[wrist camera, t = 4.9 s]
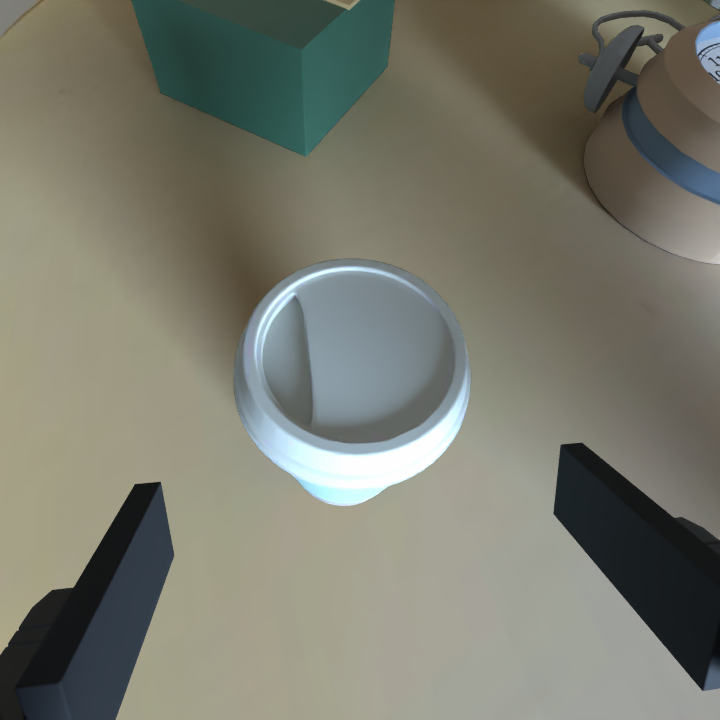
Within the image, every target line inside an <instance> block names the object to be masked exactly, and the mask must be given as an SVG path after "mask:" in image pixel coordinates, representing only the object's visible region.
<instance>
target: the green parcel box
mask: <svg viewBox="0 0 720 720" xmlns="http://www.w3.org/2000/svg"><path fill="white" fill-rule="evenodd" d="M131 1H132V4H133V7H134V10H135V13H136V17H137V20H138V23H139V26H140V29H141V32H142V35H143V39H144V42H145V45H146V48H147V51H148V54H149V58H150V61H151V64H152V67H153V70H154V73H155V76H156V80H157V83H158V86H159V89H160V92H161V93H162V94H164V95H167V96H169V97H171V98H174V99H176V100H178V101H180V102H183V103H185V104H187V105H190V106H192V107H194V108H196V109H199V110H201V111H203V112H206V113H208V114H210V115H212V116H215V117H217V118H219V119H221V120H224V121H226V122H228V123H231V124H233V125H235V126H237V127H240V128H242V129H244V130H247V131H249V132H251V133H253V134H256V135H258V136H260V137H263V138H265V139H267V140H269V141H272V142H274V143H276V144H278V145H281V146H283V147H285V148H288V149H290V150H292V151H294V152H297V153H299V154H301V155H304V156H307V155H308V154H309V153H310V152H311V151H312V150H313V148H314V147H315V146H316V145H317V144H318V143H319V142H320V141H321V140H322V138H323V137H324V136H325V135H326V134H327V133H328V132H329V131H330V130H331V129H332V127H333V126H334V125H335V124H336V123H337V122H338V121H339V120H340V119H341V117H342V116H343V115H344V114H345V113H346V112H347V111H348V110H349V109H350V108H351V106H352V105H353V104H354V103H355V102H356V101H357V100H358V99H359V98H360V96H361V95H362V94H363V93H364V92H365V91H366V90H367V89H368V88H369V86H370V85H371V84H372V83H373V82H374V81H375V80H376V79H377V78H378V77H379V75H380V74H381V73H382V72H383V71H384V70H385V69H386V68H387V64H388V56H389V47H390V38H391V30H392V21H393V13H394V4H395V0H131Z"/></svg>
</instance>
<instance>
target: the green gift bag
mask: <svg viewBox="0 0 720 720" xmlns="http://www.w3.org/2000/svg"><path fill="white" fill-rule="evenodd" d="M704 1H706V2H707V3H708V4H710V5H711V6H713V7H715V8H717V9H718V10H720V0H704Z"/></svg>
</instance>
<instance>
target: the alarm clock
mask: <svg viewBox="0 0 720 720" xmlns="http://www.w3.org/2000/svg"><path fill="white" fill-rule="evenodd" d="M627 17H649V18H655V19H658V20H660V21H663V22H666V23H668V24H670V25H671V26H673V27H674V28H675V29H677V30H678V31H679V32H678V33H676V34H675V35H673V36H672V37H671V38H670V40H669V42H668V43H667V45H666V47H665V48H664V49H663V48H661V47H660V46H659V45H658V44H657V43H660V42H661V41H662V40H663V35H662V34H656V35H650V36H644V37H642V34H643V32H644V27H642V26H639V25H635V26H630V27H628V28H626V29H625V30H623V31H622V32H621V33H619V34H618V35H617V36H616V37H615V38H614V39H613V40H612V41H611V42H610V43H609V44H608V45H607V46H606V48H605V46H604V40H603V38H602V37H601V35H600V34H599V32H598V26H599V25H600V24H601V23H603V22H607V21H610V20H614V19H619V18H627ZM592 35H593V36H594V38H595V39H596V41H597V42H598V43H599V56H598V57H595V56H593V55H590V54H588V53H582V54H581V55H579V57H578V60H579V62H580V63H581V64H583V65H585V66H588V67H590V69H589V71H591V70H592V71H591V73H590V75H589V78H588V81H587V84H586V87H585V92H584V105H585V107H586V108H587V110H588V111H589V112H591V113H594V114H595V113H596V111H597V110H598V109H599V108H600V106H601V105H602V103H603V102H604V101H605V99H606V98H607V96H608V94H609V93H610V91H611V90H612V88H613V87H614V85H615V83H616V82H617V80H620V81H622V82H624V83H626V84H629V85H631V86H633V88H632V89H630V90H629V91H627V92H626V93H625V94H623V95H622V96H620V97H619V98H618V99H616V100H615V101H613V102H612V103H611V104H610V105H609V106H608V108H607V109H606V111H605V113H604V114H603V116H602V118H601V119H600V121H599V123H598V124H597V126H596V128H595V130H594V131H593V133H592V135H591V137H590V139H589V140H588V142H587V144H586V147H585V156H584V168H585V171H586V175H587V179H588V183H589V185H590V187H591V188H592V190H593V191H594V193H595V195H596V196H597V198H598V200H599V201H600V203H601V204H602V205H603V206H604V207H605V208H606V209H607V210H608V211H609V212H610V213H611V214H612V216H613V217H614V218H615V219H616V220H617V221H618V222H619V223H620V224H622V225H623V226H625V227H626V228H627V229H629V230H630V231H632V232H633V233H635V234H636V235H638V236H639V237H641V238H642V239H643V240H645V241H646V242H649V243H651V244H653V245H655V246H657V247H659V248H662V249H664V250H666V251H668V252H670V253H672V254H675V255H678V256H681V257H685V258H689V259H693V260H696V261H700V262H704V263H711V264H720V14H719V15H716V16H714V17H712V18H711V19H709V20H708V21H707V22H702V23H699V24H696V25H692V26H689V27H686V26H683V25H681V24H680V23H679V22H677V21H676V20H674V19H673V18H671V17H669V16H666V15H663V14H660V13H658V12H652V11H646V10H640V11H624V12H618V13H613V14H610V15H606V16H603V17H600V18H599V19H598V20H597V21H596V22H594V24H593V29H592ZM643 45H648V46H649V47H650V48H651V49H652V50H653V51H654V52H655V53H656V54H657V55H656V56H654V57H653V58H652V59H650V60H649V61H648V62H647V63H646V64H645V65H644V67H643V69H642V70H641V72H640V74H639V75H637V74H635V73H632V72H630V71H628V70H625V69H624V68H625V66H626V65H627V63H628V61H629V59H630V58H631V56H632V54H633V52H634V50H635V49H636V47H637V46H643Z"/></svg>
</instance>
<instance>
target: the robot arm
mask: <svg viewBox="0 0 720 720" xmlns="http://www.w3.org/2000/svg"><path fill="white" fill-rule="evenodd" d="M554 515H555V516H556V517H557V519H558V520H559V521H560V522H561V523H562V525H563V526H564V527H565V528H566V529H567V530H568V532H569V533H570V534H571V535H572V536H573V538H574V539H575V540H576V541H577V542H578V544H579V545H580V546H581V547H582V548H583V549H584V551H585V552H586V553H587V554H588V555H589V557H590V558H591V559H592V560H593V561H594V563H595V564H596V565H597V566H598V567H599V568H600V570H601V571H602V572H603V573H604V574H605V576H606V577H607V578H608V579H609V580H610V582H611V583H612V584H613V585H614V586H615V587H616V589H617V590H618V591H619V592H620V593H621V595H622V596H623V597H624V598H625V599H626V601H627V602H628V603H629V604H630V605H631V606H632V608H633V609H634V610H635V611H636V612H637V614H638V615H639V616H640V617H641V618H642V620H643V621H644V622H645V623H646V624H647V625H648V627H649V628H650V629H651V630H652V631H653V633H654V634H655V635H656V636H657V637H658V639H659V640H660V641H661V642H662V643H663V644H664V646H665V647H666V648H667V649H668V650H669V652H670V653H671V654H672V655H673V656H674V658H675V659H676V660H677V661H678V662H679V663H680V665H681V666H682V667H683V668H684V669H685V671H686V672H687V673H688V674H689V675H690V677H691V678H692V679H693V680H694V681H695V682H696V684H697V685H698V686H699V687H700V688H701V690H702V691H706V690H712V689H718V688H720V541H719V540H718V539H717V538H716V537H714V536H713V535H712V534H710V533H709V532H708V531H707V530H705V529H704V528H703V527H701V526H699V525H697V524H695V523H693V522H691V521H689V520H687V519H685V518H683V517H679V518H673V517H672V516H671V515H670V514H669V513H667V512H666V511H665V510H664V509H662V508H661V507H660V506H659V505H658V504H656V503H655V502H654V501H653V500H651V499H650V498H649V497H648V496H647V495H645V494H644V493H643V492H642V491H640V490H639V489H638V488H637V487H636V486H634V485H633V484H632V483H631V482H629V481H628V480H627V479H626V478H625V477H623V476H622V475H621V474H620V473H618V472H617V471H616V470H615V469H614V468H612V467H611V466H610V465H609V464H607V463H606V462H605V461H604V460H603V459H601V458H600V457H599V456H598V455H596V454H595V453H594V452H593V451H592V450H590V449H589V448H588V447H587V446H585V445H584V444H583V443H573V444H562V445H561V448H560V457H559V467H558V476H557V486H556V495H555V505H554ZM173 557H174V551H173V546H172V540H171V535H170V530H169V524H168V519H167V513H166V508H165V502H164V497H163V491H162V486H161V482H154V483H143V484H135V485H134V487H133V489H132V490H131V492H130V494H129V495H128V497H127V499H126V500H125V502H124V504H123V505H122V507H121V509H120V511H119V512H118V514H117V516H116V517H115V519H114V521H113V522H112V524H111V526H110V527H109V529H108V531H107V532H106V534H105V536H104V537H103V539H102V541H101V543H100V544H99V546H98V548H97V549H96V551H95V553H94V554H93V556H92V558H91V559H90V561H89V563H88V564H87V566H86V568H85V570H84V571H83V573H82V575H81V576H80V578H79V580H78V581H77V583H76V585H75V586H74V588H66V589H57V590H52V591H51V592H49V593H48V594H47V595H46V596H45V597H44V598H43V599H41V600H40V601H39V602H38V603H37V604H36V605H35V606H34V607H32V609H31V610H30V612H29V613H28V615H27V616H26V618H25V619H24V621H23V622H22V624H21V625H20V627H19V631H16V633H15V634H14V636H13V637H12V639H11V640H10V642H9V643H8V647H6V648H5V649H4V651H3V652H2V654H1V655H0V720H116V717H117V714H118V711H119V708H120V706H121V703H122V700H123V697H124V694H125V692H126V689H127V686H128V683H129V680H130V678H131V675H132V672H133V669H134V666H135V664H136V661H137V658H138V655H139V652H140V650H141V647H142V644H143V641H144V639H145V636H146V633H147V630H148V627H149V625H150V622H151V619H152V616H153V613H154V611H155V608H156V605H157V602H158V599H159V597H160V594H161V591H162V588H163V585H164V583H165V580H166V577H167V574H168V571H169V569H170V566H171V563H172V560H173Z"/></svg>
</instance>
